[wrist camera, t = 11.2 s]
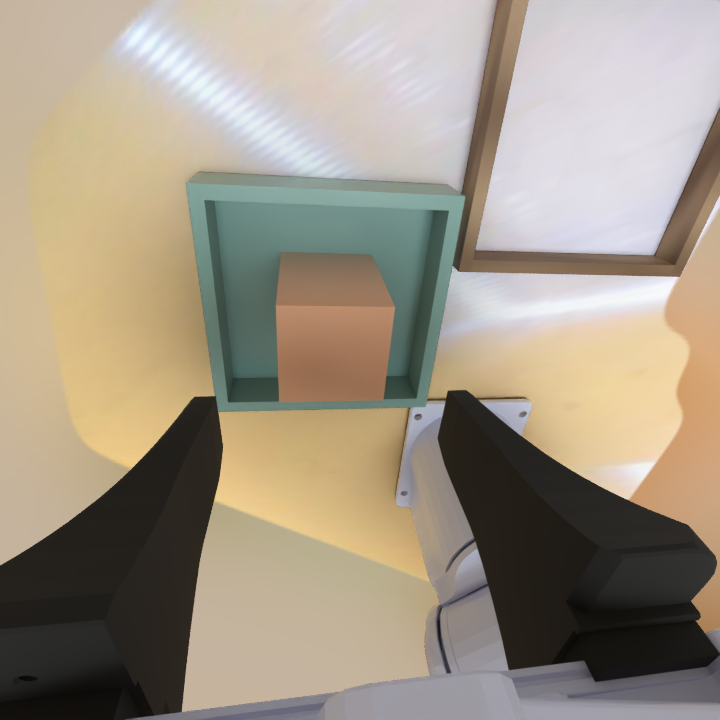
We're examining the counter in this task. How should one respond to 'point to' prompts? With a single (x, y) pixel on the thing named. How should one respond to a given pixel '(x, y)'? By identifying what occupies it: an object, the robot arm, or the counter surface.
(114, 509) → the robot arm
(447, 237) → the teal tray
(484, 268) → the walnut frame
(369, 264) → the terracotta block
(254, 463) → the counter surface
